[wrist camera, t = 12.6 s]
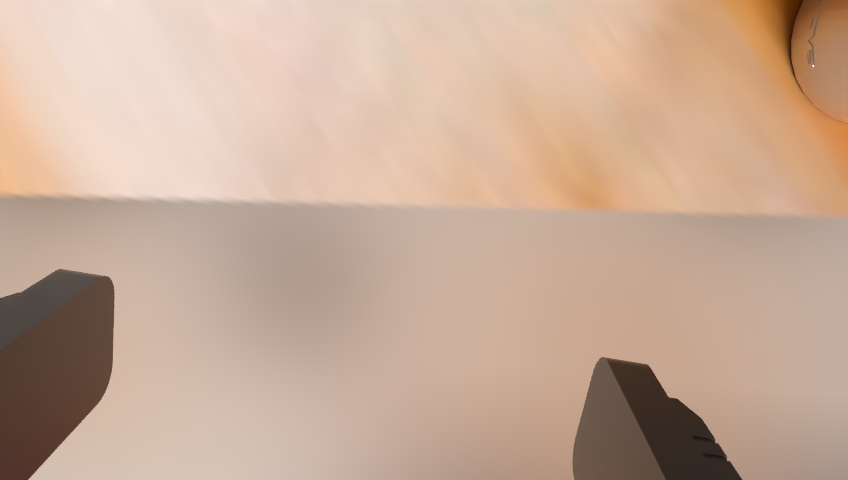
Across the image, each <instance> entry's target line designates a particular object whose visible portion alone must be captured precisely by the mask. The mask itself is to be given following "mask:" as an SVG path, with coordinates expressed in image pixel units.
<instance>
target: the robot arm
mask: <svg viewBox="0 0 848 480" xmlns="http://www.w3.org/2000/svg"><path fill="white" fill-rule="evenodd" d="M791 60H792V64H793V69H794V73H795V77H796V79H797V81H798V83H799V85H800V87H801V89H802V91H803V93H804V95H805V96H806V97H807V98H808V99H809V100H810V101H811V103H812V104H813V105H814V106H815V107H816V108H818V109H819V110H820V111H822V112H823V113H825V114H826V115H828V116H829V117H831V118H834V119H837V120H839V121H842V122H845V123H848V0H803V2H802V4H801V7H800V9H799V12H798V14H797V17H796V19H795V23H794V28H793V34H792V39H791ZM113 325H114V286H113V283H112V281H111V279H110V278H109V277H106V276H101V275H95V274H88V273H82V272H76V271H69V270H63V269H59V270H57V271H55V272H53V273H51V274H50V275H48V276H47V277H45V278H43V279H42V280H40V281H39V282H37V283H36V284H34V285H32V286H31V287H29V288H27V289H26V290H24V291H23V292H21V293H16V294H12V295H9V296H6V297H3V298H0V480H28V479H29V478H30V477H31V476H32V475H33V474H34V473H35V471H36V470H37V469H38V468H39V467H40V466H41V465H42V464H43V463H44V462H45V461H46V459H47V458H48V457H49V456H50V455H51V454H52V453H53V452H54V451H55V450H56V449H57V447H58V446H59V445H60V444H61V443H62V442H63V441H64V440H65V439H66V438H67V437H68V435H69V434H70V433H71V432H72V431H73V430H74V429H75V428H76V427H77V426H78V424H80V423H81V421H82V420H83V419H84V418H85V417H86V416H87V415H88V414H89V413H90V412H91V410H92V409H93V408H94V407H95V406H96V405H97V404H98V403H99V402H100V400H101V399H102V397H103V395H104V393H105V391H106V389H107V386H108V383H109V380H110V376H111V372H112V362H113V327H114V326H113ZM573 474H574V479H575V480H742V479H741V477H740V476H739V474H738V473H737V471H736V470H735V468H734V467H733V465H732V464H731V462H730V461H727V456H726V455H725V453H724V452H723V450H722V449H721V447H720V446H719V444H717V443H715V438H714V437H713V435H712V434H711V432H710V431H709V429H708V428H707V426H706V425H705V423H704V422H703V420H702V419H701V418H700V417H699V416H698V415H696V414H695V413H694V412H693V411H692V410H690V409H689V408H688V407H686V406H685V405H684V404H683V403H682V402H680V401H679V400H678V399H675V398H669V397H668V396H667V394H666V392H665V391H664V389H663V388H662V386H661V384H660V383H659V381H658V380H657V378H656V376H655V375H654V373H653V371H652V370H651V368H650V367H649V366H648V365H647V364H641V363H635V362H628V361H623V360H616V359H610V358H604V357H602V358H600V359H599V361H598V362H597V364H596V366H595V368H594V371H593V376H592V378H591V382H590V386H589V390H588V393H587V397H586V401H585V405H584V409H583V412H582V416H581V420H580V423H579V427H578V431H577V435H576V439H575V443H574V450H573Z"/></svg>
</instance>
